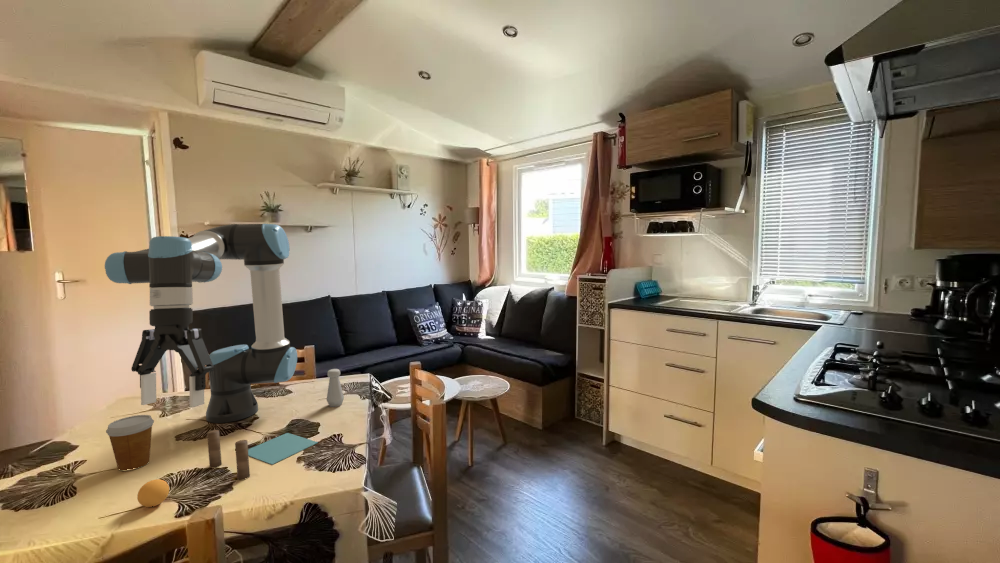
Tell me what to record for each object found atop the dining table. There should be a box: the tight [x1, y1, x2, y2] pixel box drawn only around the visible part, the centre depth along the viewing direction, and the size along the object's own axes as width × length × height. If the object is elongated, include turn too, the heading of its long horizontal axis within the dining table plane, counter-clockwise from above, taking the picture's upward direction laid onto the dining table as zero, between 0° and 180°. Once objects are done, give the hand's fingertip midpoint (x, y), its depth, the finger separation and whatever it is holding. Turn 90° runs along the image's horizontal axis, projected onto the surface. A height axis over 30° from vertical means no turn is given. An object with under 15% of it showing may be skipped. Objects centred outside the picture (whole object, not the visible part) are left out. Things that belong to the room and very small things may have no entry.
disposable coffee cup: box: [105, 414, 155, 470], centre depth 112 cm, size 10×10×12 cm
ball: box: [136, 478, 170, 508], centre depth 94 cm, size 6×6×6 cm
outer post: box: [234, 439, 251, 480], centre depth 105 cm, size 3×3×9 cm
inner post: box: [206, 429, 223, 468], centre depth 111 cm, size 3×3×9 cm
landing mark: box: [248, 432, 319, 466], centre depth 121 cm, size 14×14×1 cm
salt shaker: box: [326, 368, 345, 408], centre depth 153 cm, size 6×6×13 cm
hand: (172, 404), depth 93 cm, fingers open, 13 cm apart
